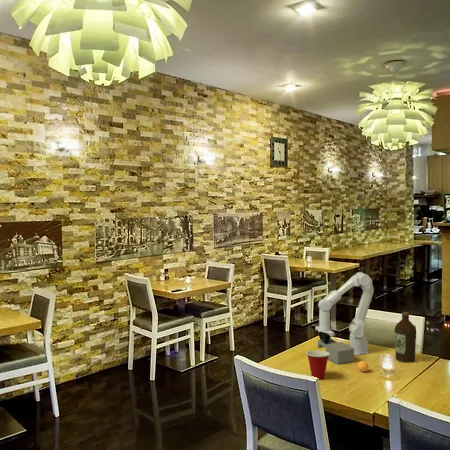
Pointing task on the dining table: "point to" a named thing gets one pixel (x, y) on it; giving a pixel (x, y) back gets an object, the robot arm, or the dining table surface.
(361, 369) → the ball
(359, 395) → the dining table surface
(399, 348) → the olive oil
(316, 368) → the plastic cup
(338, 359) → the grey open rectangular frame
